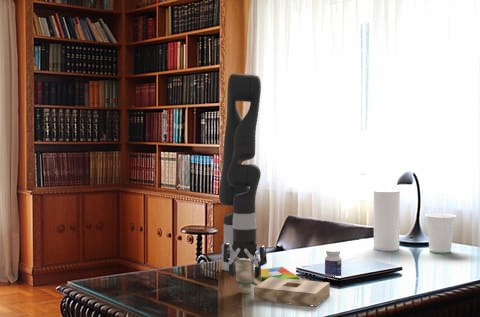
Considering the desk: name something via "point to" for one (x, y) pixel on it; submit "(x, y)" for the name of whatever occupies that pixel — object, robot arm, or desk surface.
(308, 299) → the oak board
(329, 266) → the pill bottle
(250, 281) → the maple peg
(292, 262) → the desk surface
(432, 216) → the cup
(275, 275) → the wooden puzzle
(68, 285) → the desk surface
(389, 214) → the tall pillar cylinder
